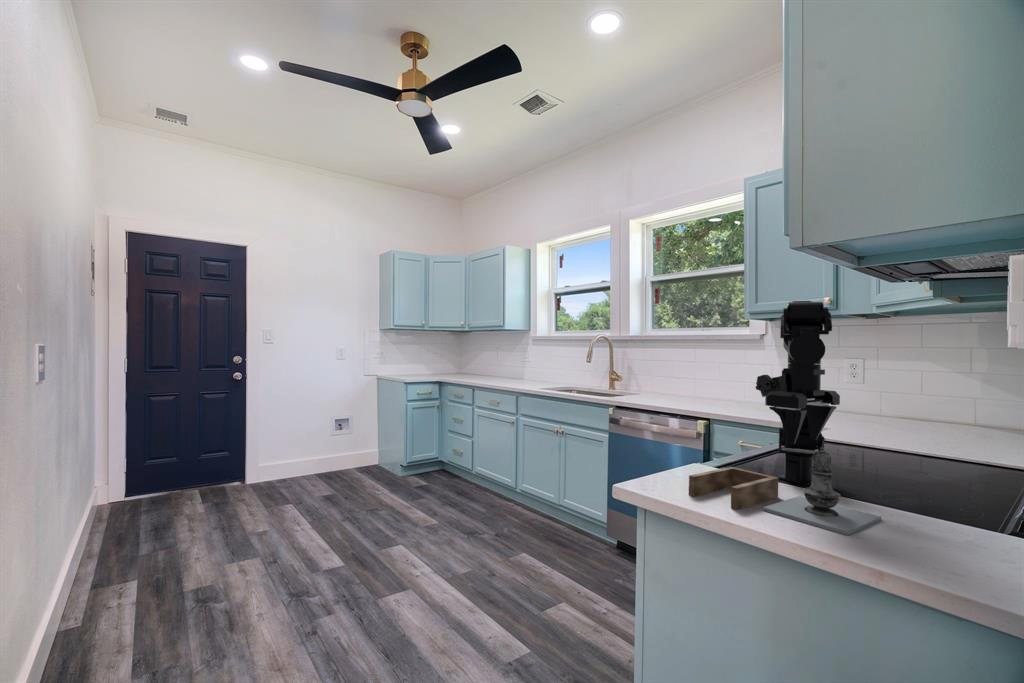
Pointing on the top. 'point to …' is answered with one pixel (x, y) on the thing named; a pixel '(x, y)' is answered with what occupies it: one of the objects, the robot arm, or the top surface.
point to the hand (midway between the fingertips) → (802, 441)
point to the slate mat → (843, 523)
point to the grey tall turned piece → (821, 487)
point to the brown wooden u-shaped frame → (736, 485)
